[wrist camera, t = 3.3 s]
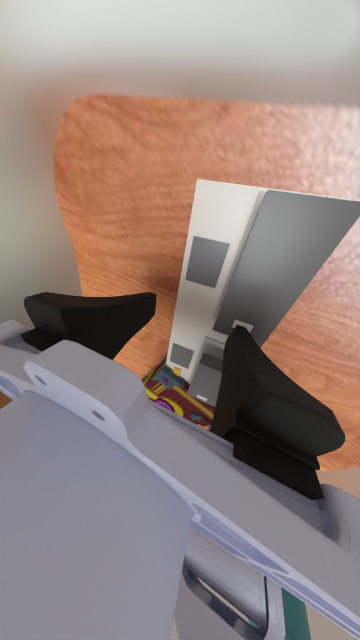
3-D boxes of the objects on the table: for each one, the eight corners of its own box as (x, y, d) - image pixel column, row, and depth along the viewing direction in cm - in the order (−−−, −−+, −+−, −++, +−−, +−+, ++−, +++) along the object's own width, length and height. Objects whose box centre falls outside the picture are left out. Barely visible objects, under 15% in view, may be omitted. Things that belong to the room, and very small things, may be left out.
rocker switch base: (323, 208, 9) (356, 198, 6) (221, 377, 21) (218, 398, 18) (207, 191, 11) (195, 177, 8) (172, 356, 22) (163, 372, 20)
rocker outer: (349, 207, 6) (371, 202, 5) (259, 337, 11) (260, 348, 10) (264, 195, 7) (268, 188, 6) (214, 321, 11) (211, 330, 10)
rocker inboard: (241, 368, 12) (240, 381, 11) (215, 397, 18) (213, 407, 17) (202, 352, 13) (199, 363, 12) (189, 384, 18) (186, 394, 17)
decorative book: (229, 390, 22) (226, 424, 18) (178, 410, 32) (169, 435, 28) (174, 347, 22) (158, 372, 18) (140, 380, 31) (125, 402, 27)
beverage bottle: (290, 457, 24) (380, 868, 9) (261, 458, 28) (285, 739, 13) (259, 436, 25) (292, 800, 9) (234, 440, 29) (226, 695, 13)
